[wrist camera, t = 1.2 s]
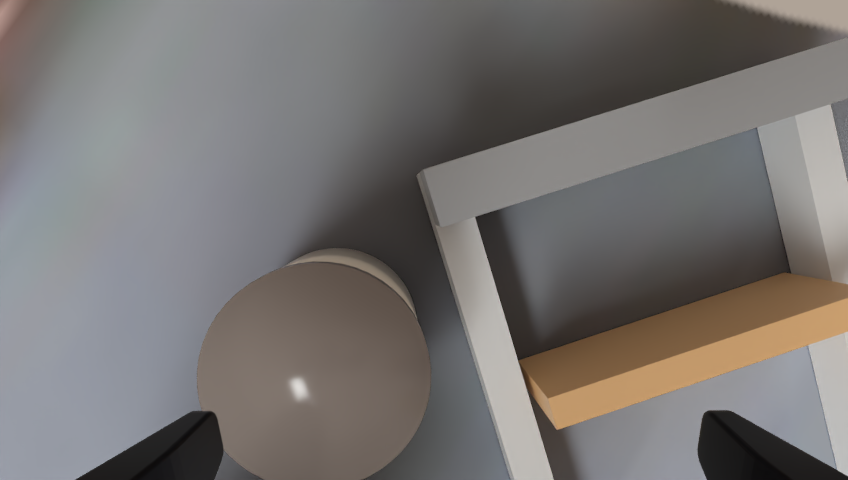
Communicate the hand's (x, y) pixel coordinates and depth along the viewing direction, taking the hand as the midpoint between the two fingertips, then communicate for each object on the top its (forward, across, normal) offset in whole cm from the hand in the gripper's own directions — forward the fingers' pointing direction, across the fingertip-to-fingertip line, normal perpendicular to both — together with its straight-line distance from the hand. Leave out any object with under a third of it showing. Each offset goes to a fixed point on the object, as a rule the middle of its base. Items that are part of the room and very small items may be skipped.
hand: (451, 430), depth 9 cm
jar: (+10, +5, +3) cm, 12 cm away
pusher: (+12, -9, +5) cm, 16 cm away
